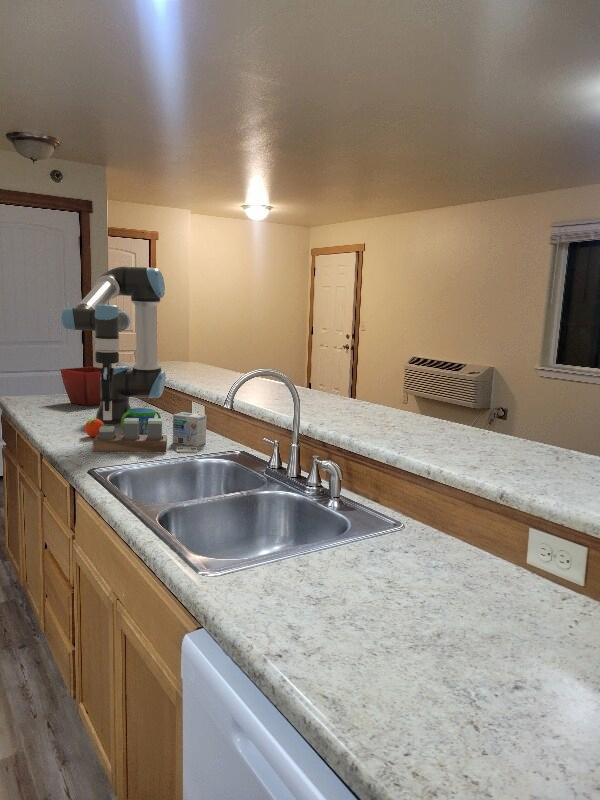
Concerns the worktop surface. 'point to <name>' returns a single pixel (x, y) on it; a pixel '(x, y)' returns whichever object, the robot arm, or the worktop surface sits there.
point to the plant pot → (82, 385)
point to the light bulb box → (189, 428)
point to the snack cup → (140, 418)
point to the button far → (154, 429)
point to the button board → (129, 444)
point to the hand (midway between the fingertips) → (107, 419)
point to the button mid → (131, 428)
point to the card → (187, 449)
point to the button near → (107, 432)
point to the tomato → (93, 427)
